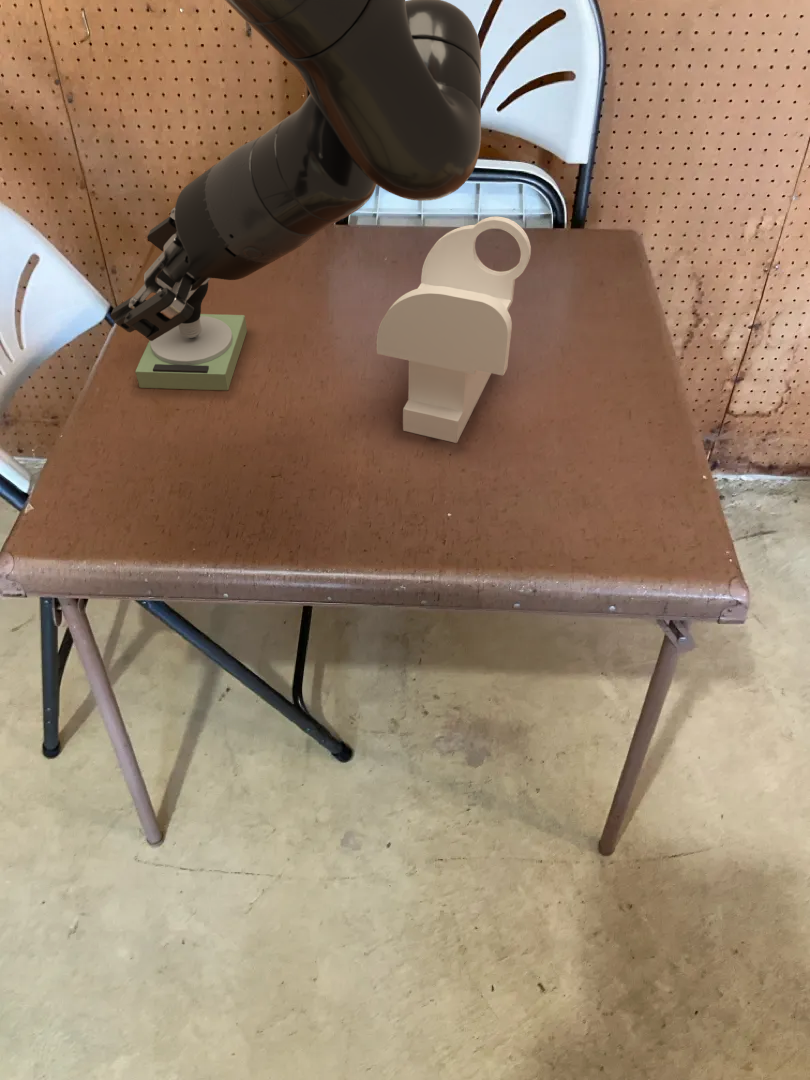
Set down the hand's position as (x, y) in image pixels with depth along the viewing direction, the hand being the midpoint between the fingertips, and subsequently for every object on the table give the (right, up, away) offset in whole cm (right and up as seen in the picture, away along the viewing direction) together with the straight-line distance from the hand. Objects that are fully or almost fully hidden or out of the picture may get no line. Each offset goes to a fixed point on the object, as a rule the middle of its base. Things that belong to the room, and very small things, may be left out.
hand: (139, 281), depth 71 cm
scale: (-2, -1, +27) cm, 27 cm away
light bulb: (-2, +1, +25) cm, 25 cm away
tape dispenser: (+28, -7, +21) cm, 36 cm away
